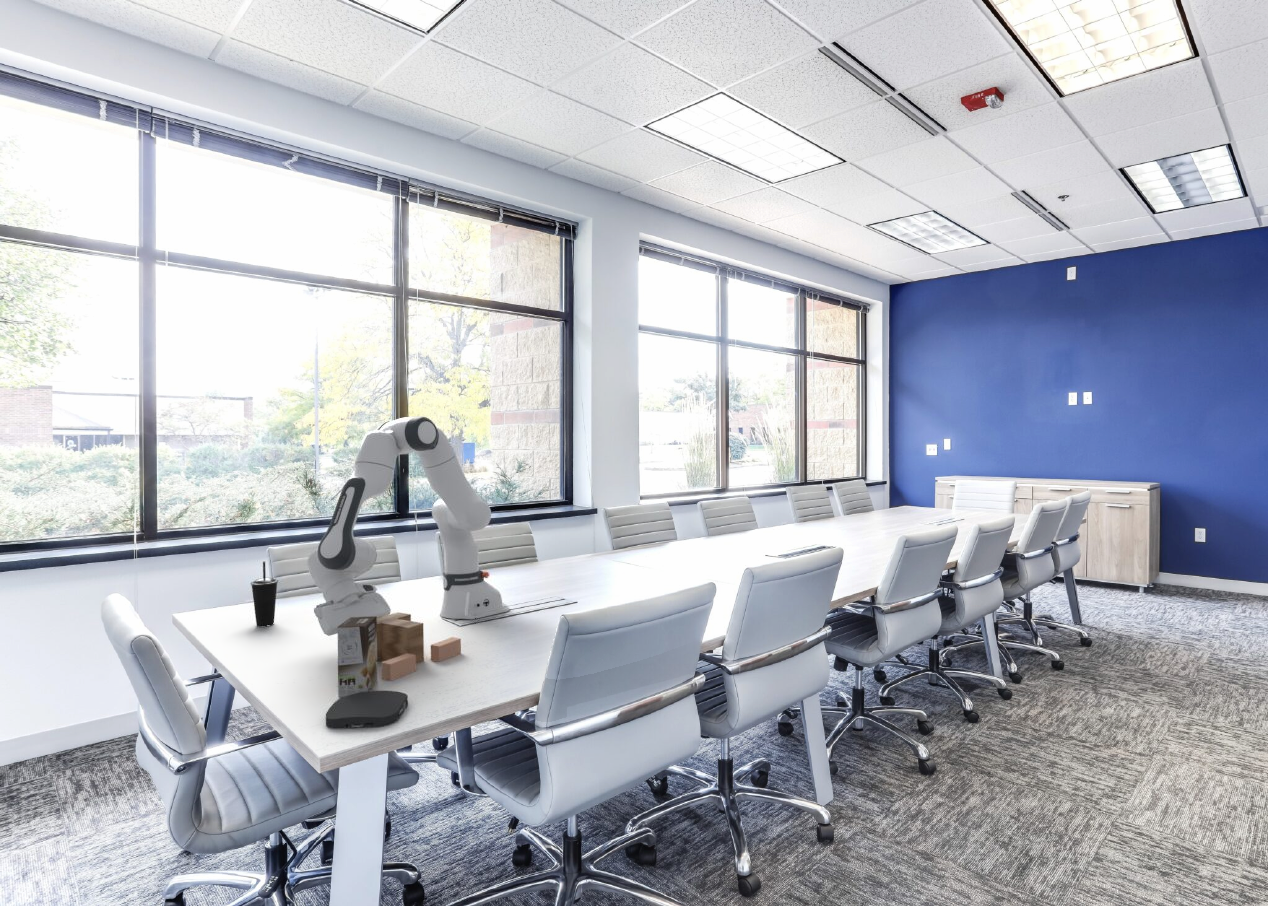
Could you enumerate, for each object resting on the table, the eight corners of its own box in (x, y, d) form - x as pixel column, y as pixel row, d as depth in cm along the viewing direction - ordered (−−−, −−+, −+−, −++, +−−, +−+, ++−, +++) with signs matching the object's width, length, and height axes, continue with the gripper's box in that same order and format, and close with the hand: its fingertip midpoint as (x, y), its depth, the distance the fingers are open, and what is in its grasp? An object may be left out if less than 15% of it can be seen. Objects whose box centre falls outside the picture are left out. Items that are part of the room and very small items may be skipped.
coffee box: (366, 696, 156) (365, 626, 156) (337, 697, 156) (336, 627, 155) (378, 682, 165) (377, 615, 165) (350, 683, 165) (349, 616, 165)
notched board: (381, 678, 168) (381, 662, 168) (452, 651, 189) (452, 637, 189) (390, 680, 166) (390, 664, 166) (460, 653, 187) (460, 638, 187)
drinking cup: (267, 628, 213) (265, 564, 213) (245, 627, 215) (244, 563, 214) (284, 622, 221) (283, 559, 220) (263, 621, 222) (262, 559, 222)
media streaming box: (344, 703, 153) (344, 690, 153) (411, 701, 154) (411, 688, 154) (319, 731, 139) (319, 716, 139) (394, 728, 140) (393, 714, 140)
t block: (353, 663, 180) (352, 625, 179) (398, 647, 193) (398, 612, 192) (393, 672, 172) (393, 632, 172) (437, 655, 185) (437, 618, 185)
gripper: (316, 598, 182) (341, 640, 177) (379, 584, 200) (403, 621, 195) (305, 613, 184) (330, 655, 179) (369, 597, 202) (393, 635, 197)
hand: (369, 637), depth 187 cm, fingers closed
